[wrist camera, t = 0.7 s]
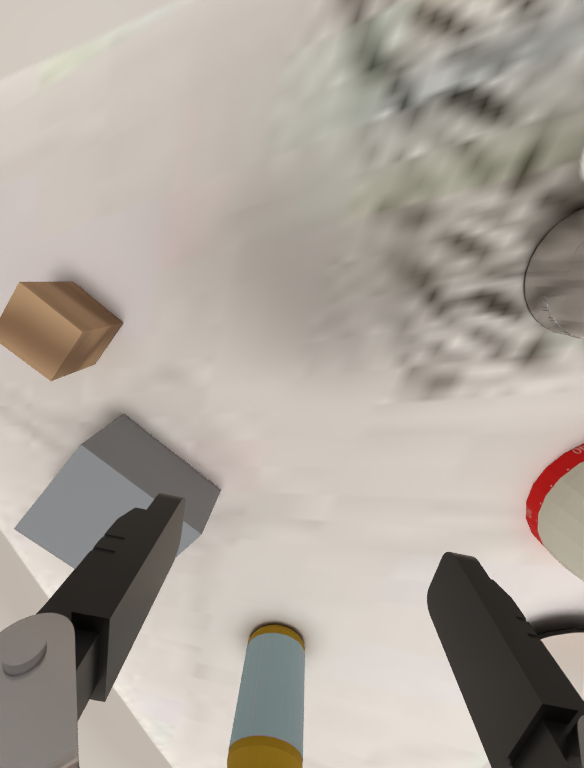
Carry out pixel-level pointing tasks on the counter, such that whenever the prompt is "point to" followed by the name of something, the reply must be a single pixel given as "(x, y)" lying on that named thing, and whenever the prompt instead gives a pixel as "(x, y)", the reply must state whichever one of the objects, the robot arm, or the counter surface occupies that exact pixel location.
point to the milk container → (568, 654)
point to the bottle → (270, 702)
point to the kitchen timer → (560, 510)
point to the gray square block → (114, 491)
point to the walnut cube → (56, 327)
